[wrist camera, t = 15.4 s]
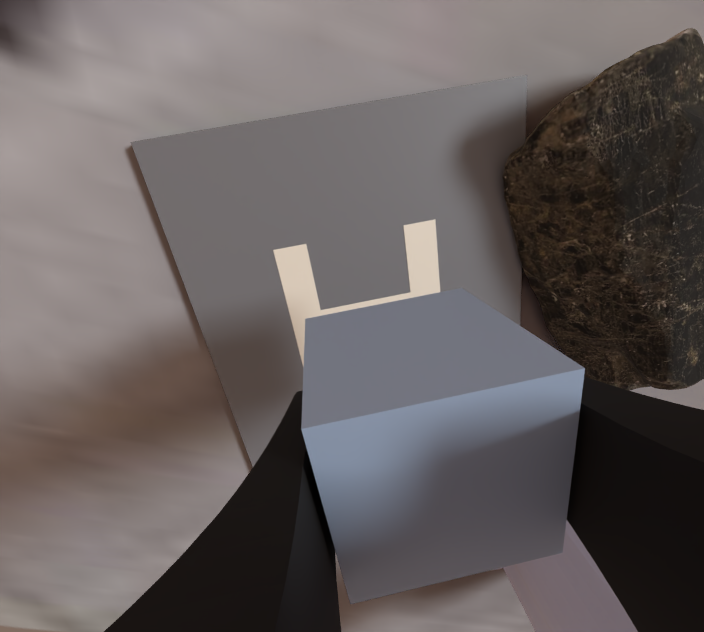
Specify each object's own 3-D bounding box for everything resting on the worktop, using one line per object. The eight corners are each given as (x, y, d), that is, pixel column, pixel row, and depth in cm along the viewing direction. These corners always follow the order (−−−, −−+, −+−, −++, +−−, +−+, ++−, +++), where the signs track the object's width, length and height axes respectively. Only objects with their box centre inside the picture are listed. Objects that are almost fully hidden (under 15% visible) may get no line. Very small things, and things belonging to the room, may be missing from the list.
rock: (632, 33, 13) (779, -34, 9) (683, 315, 20) (786, 348, 16) (470, 146, 14) (545, 129, 10) (570, 388, 20) (641, 438, 16)
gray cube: (466, 414, 12) (562, 552, 8) (334, 443, 12) (350, 604, 7) (461, 288, 10) (584, 368, 6) (305, 318, 10) (301, 429, 5)
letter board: (513, 419, 20) (517, 423, 20) (258, 475, 20) (258, 481, 19) (521, 77, 14) (527, 74, 13) (135, 143, 13) (130, 142, 13)
